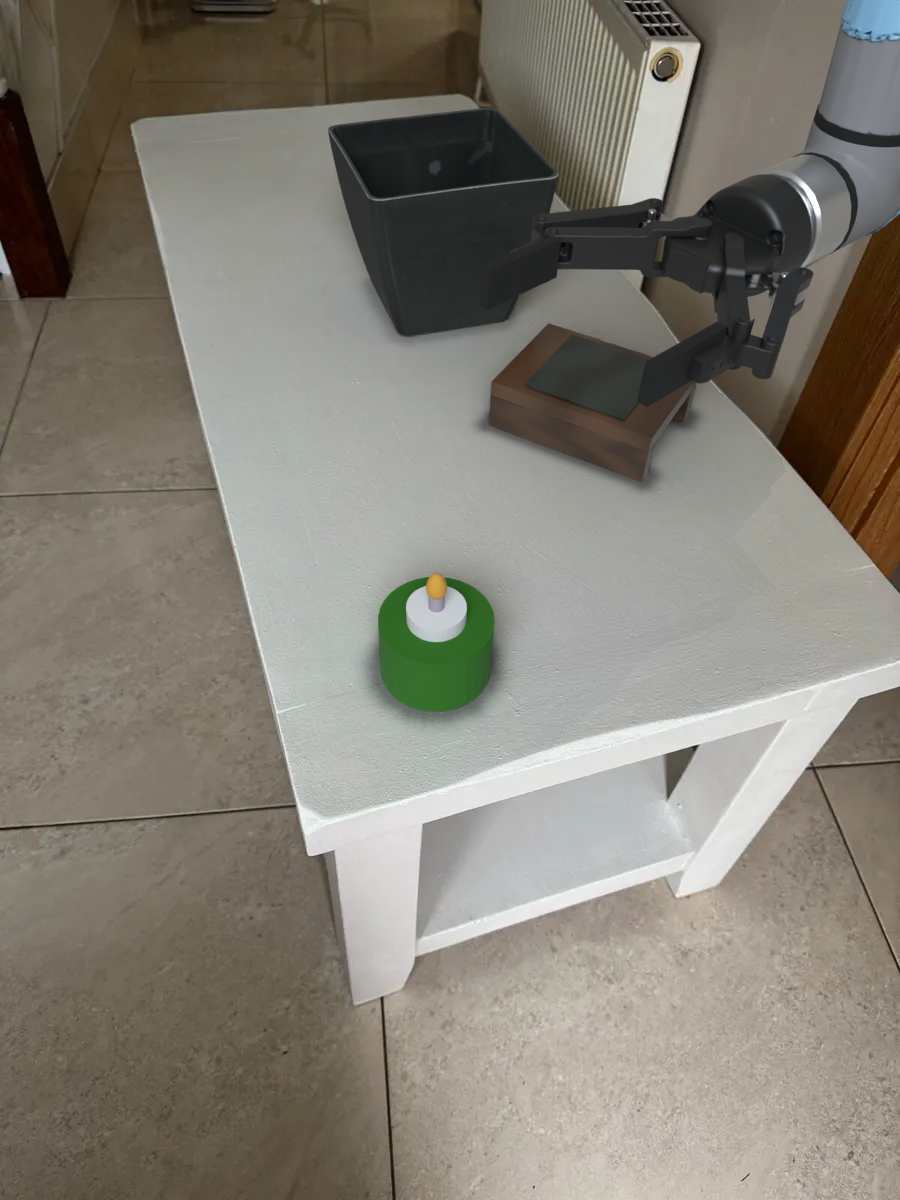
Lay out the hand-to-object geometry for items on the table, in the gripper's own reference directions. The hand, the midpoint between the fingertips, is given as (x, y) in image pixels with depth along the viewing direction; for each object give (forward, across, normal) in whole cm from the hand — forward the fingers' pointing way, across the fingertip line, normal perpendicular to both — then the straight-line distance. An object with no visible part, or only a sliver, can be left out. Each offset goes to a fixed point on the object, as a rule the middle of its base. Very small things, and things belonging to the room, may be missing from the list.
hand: (559, 334), depth 56 cm
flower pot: (-25, +39, -25) cm, 53 cm away
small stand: (-22, +13, -25) cm, 35 cm away
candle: (+10, 0, -25) cm, 26 cm away
